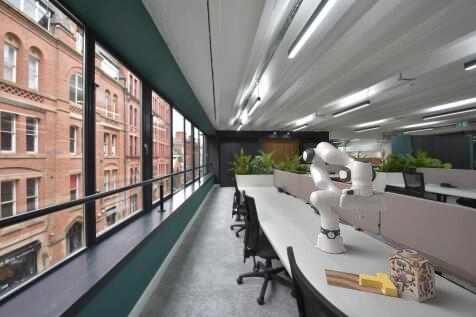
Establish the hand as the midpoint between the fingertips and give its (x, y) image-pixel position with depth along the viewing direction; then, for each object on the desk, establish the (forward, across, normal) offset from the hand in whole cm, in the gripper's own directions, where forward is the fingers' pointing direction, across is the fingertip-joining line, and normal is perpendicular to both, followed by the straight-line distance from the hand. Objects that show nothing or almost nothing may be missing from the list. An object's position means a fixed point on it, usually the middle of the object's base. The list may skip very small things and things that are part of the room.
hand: (362, 218), depth 97 cm
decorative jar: (+30, -17, +5) cm, 35 cm away
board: (+29, +4, +7) cm, 30 cm away
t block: (+28, -3, +7) cm, 29 cm away
